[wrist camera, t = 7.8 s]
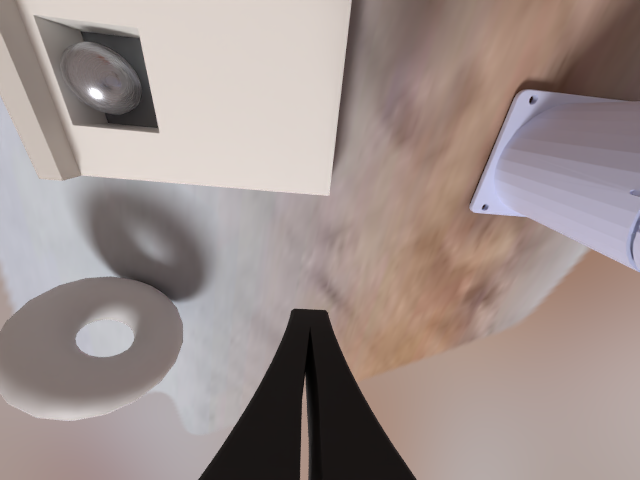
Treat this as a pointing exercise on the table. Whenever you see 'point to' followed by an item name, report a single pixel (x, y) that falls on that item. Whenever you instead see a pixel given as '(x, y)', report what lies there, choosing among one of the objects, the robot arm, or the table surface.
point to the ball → (100, 78)
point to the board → (185, 90)
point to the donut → (78, 367)
